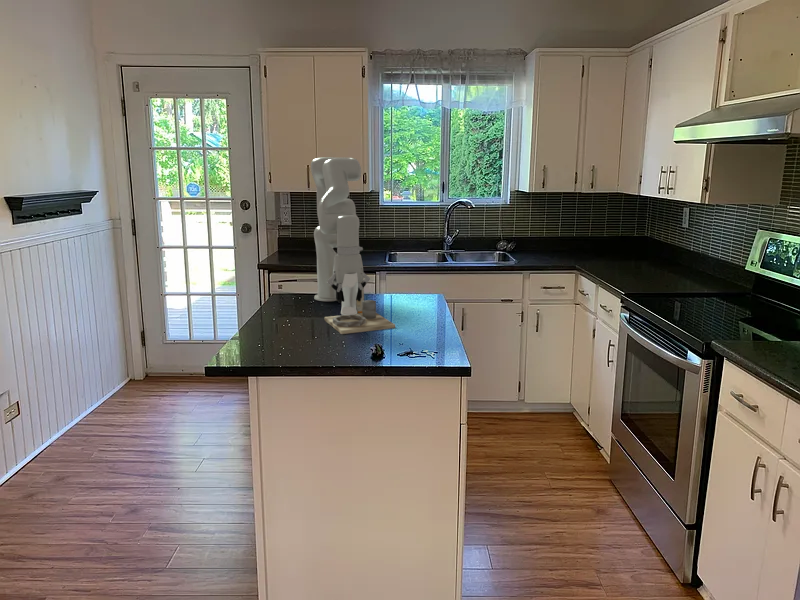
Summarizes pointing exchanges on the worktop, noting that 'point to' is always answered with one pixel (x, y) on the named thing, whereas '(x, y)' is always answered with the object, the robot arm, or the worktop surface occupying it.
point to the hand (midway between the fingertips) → (349, 300)
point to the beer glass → (349, 294)
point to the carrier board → (364, 327)
